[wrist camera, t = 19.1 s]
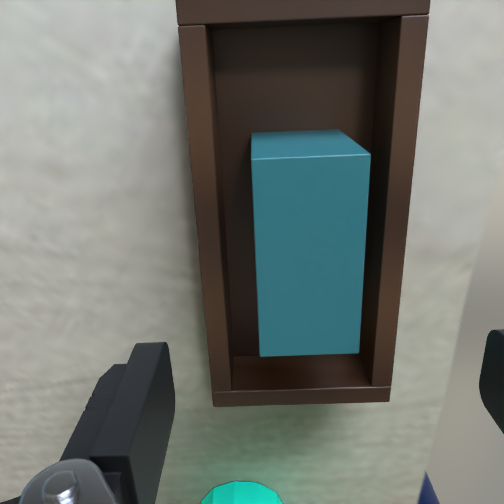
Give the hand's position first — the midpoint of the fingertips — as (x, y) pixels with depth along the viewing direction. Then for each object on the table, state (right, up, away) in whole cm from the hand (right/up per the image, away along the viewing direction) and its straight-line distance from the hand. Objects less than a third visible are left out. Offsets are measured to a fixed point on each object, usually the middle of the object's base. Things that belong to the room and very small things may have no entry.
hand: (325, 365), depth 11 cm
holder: (0, +5, +11) cm, 13 cm away
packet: (0, +5, +11) cm, 12 cm away
